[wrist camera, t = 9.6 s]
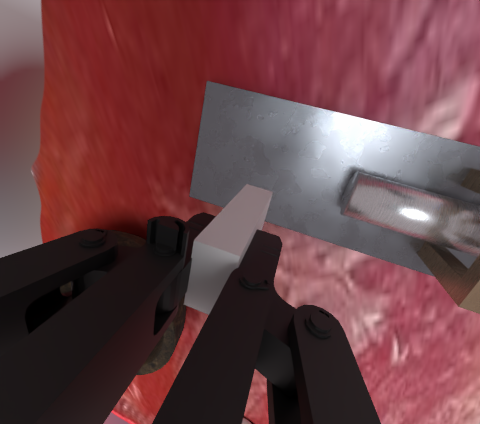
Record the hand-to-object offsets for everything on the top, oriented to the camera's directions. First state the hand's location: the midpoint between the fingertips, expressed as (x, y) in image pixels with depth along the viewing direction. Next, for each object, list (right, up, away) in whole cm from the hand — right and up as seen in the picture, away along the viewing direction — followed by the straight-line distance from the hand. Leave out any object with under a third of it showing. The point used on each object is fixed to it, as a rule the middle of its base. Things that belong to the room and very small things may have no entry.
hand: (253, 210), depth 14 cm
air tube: (+21, -1, +12) cm, 24 cm away
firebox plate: (+15, +2, +14) cm, 20 cm away
